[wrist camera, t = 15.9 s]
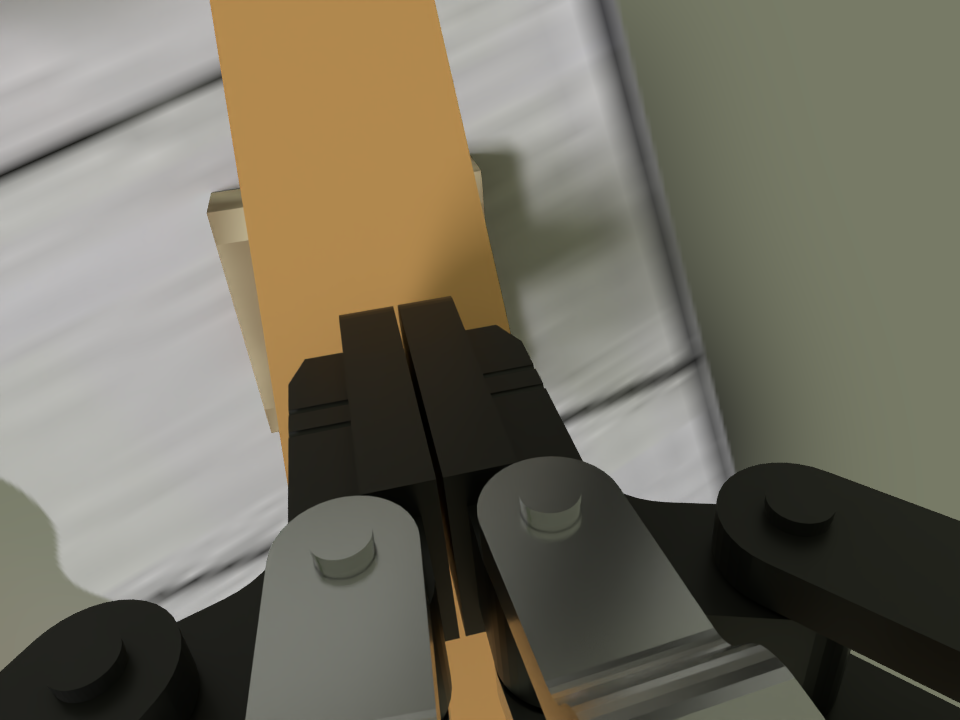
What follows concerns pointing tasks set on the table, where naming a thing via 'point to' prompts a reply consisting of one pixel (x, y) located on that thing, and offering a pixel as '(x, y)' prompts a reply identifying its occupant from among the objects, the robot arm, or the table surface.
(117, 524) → the table surface
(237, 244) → the clamp rig
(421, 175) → the tan wooden bar
